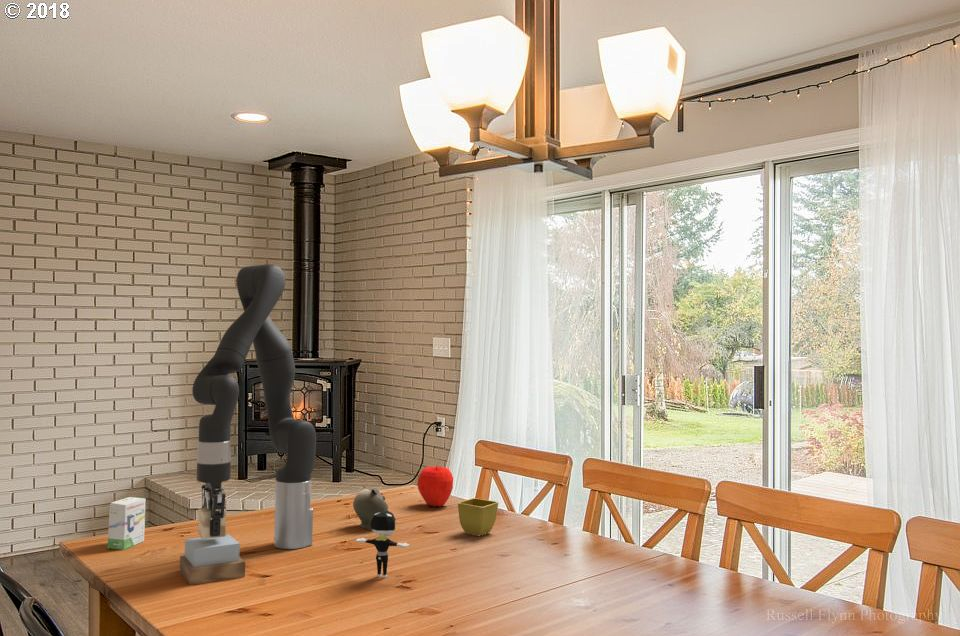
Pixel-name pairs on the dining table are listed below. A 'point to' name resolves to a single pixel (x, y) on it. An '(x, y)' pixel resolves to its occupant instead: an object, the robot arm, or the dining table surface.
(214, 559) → the slate-blue block
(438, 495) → the apple
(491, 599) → the dining table surface
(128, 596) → the dining table surface
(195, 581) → the walnut plinth block
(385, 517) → the toy
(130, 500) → the ink box
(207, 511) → the maple block
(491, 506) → the flower pot
